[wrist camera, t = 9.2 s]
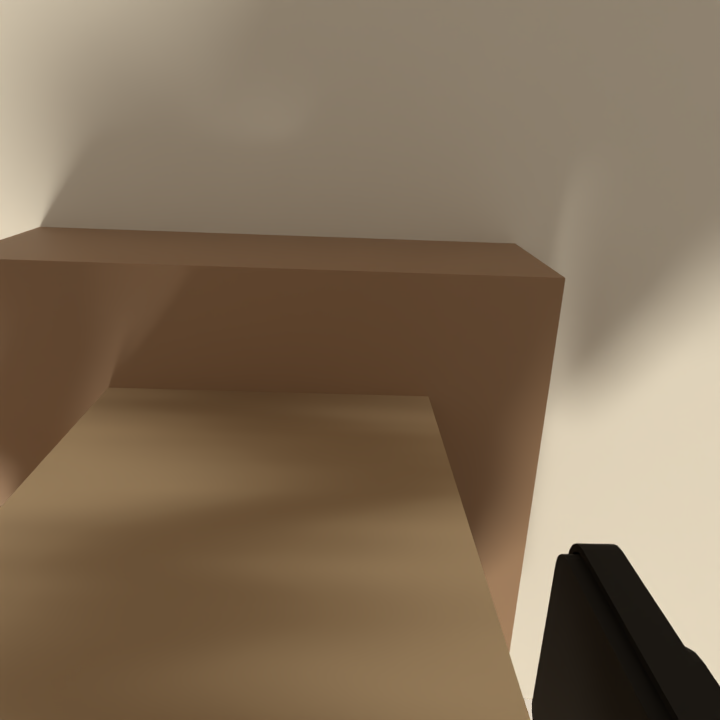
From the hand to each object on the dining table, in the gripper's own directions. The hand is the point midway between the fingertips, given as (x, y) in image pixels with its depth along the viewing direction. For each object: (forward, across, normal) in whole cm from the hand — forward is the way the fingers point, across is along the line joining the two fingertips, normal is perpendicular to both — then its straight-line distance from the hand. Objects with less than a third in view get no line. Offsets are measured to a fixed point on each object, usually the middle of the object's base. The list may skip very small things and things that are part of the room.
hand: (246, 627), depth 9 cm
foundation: (+7, -2, -1) cm, 7 cm away
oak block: (+2, 0, 0) cm, 2 cm away
